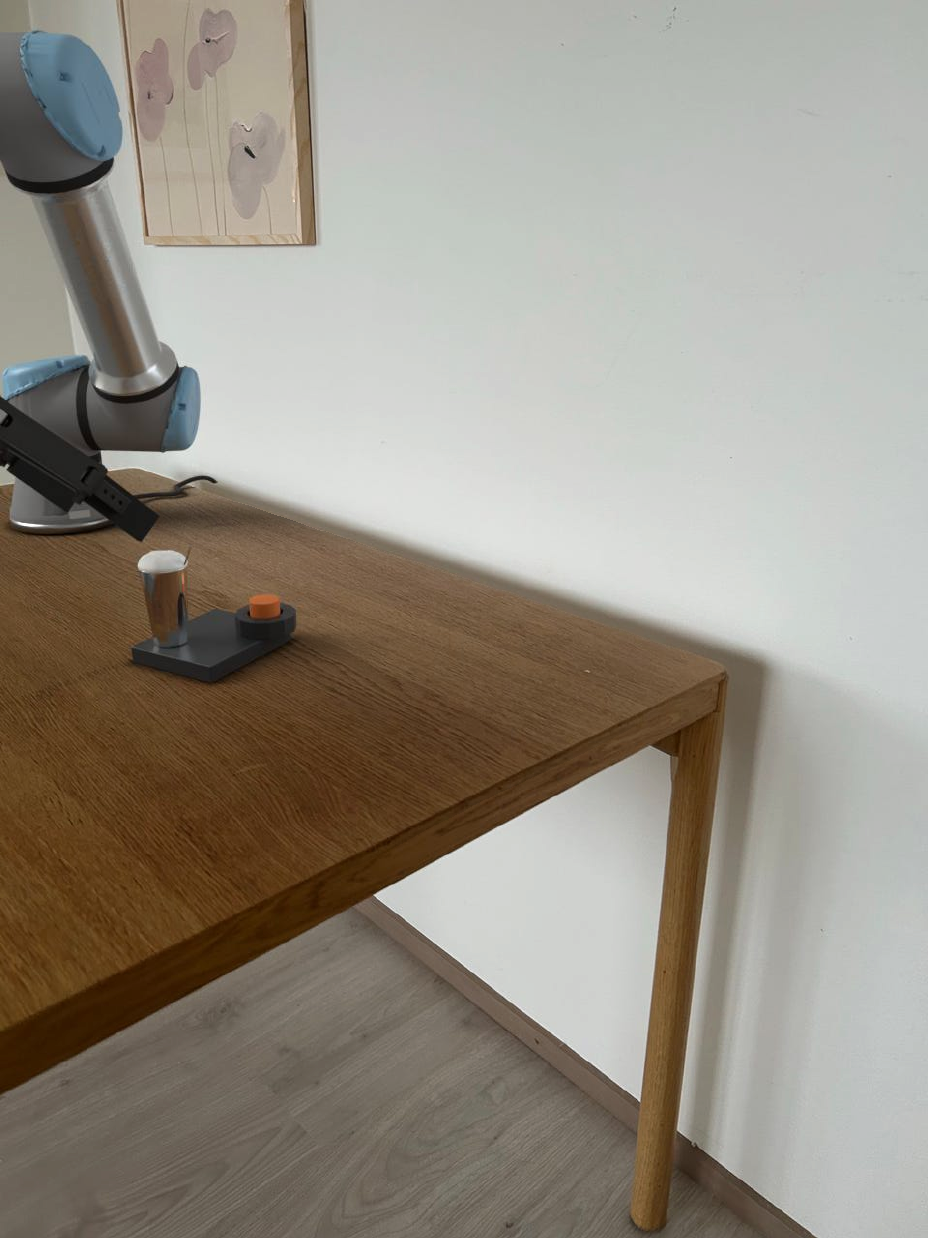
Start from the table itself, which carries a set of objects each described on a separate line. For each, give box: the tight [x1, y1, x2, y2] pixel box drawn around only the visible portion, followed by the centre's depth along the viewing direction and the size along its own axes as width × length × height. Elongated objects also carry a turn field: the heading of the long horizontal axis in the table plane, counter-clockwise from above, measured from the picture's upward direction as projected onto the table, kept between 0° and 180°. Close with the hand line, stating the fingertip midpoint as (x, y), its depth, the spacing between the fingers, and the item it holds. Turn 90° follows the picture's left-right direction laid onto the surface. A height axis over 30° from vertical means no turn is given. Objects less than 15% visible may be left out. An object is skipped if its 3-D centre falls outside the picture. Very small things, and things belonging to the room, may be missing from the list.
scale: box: [130, 602, 298, 684], centre depth 95 cm, size 13×12×4 cm
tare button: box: [248, 593, 281, 619], centre depth 96 cm, size 3×3×2 cm
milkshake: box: [137, 544, 193, 648], centre depth 91 cm, size 4×5×10 cm
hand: (109, 513), depth 85 cm, fingers open, 13 cm apart
